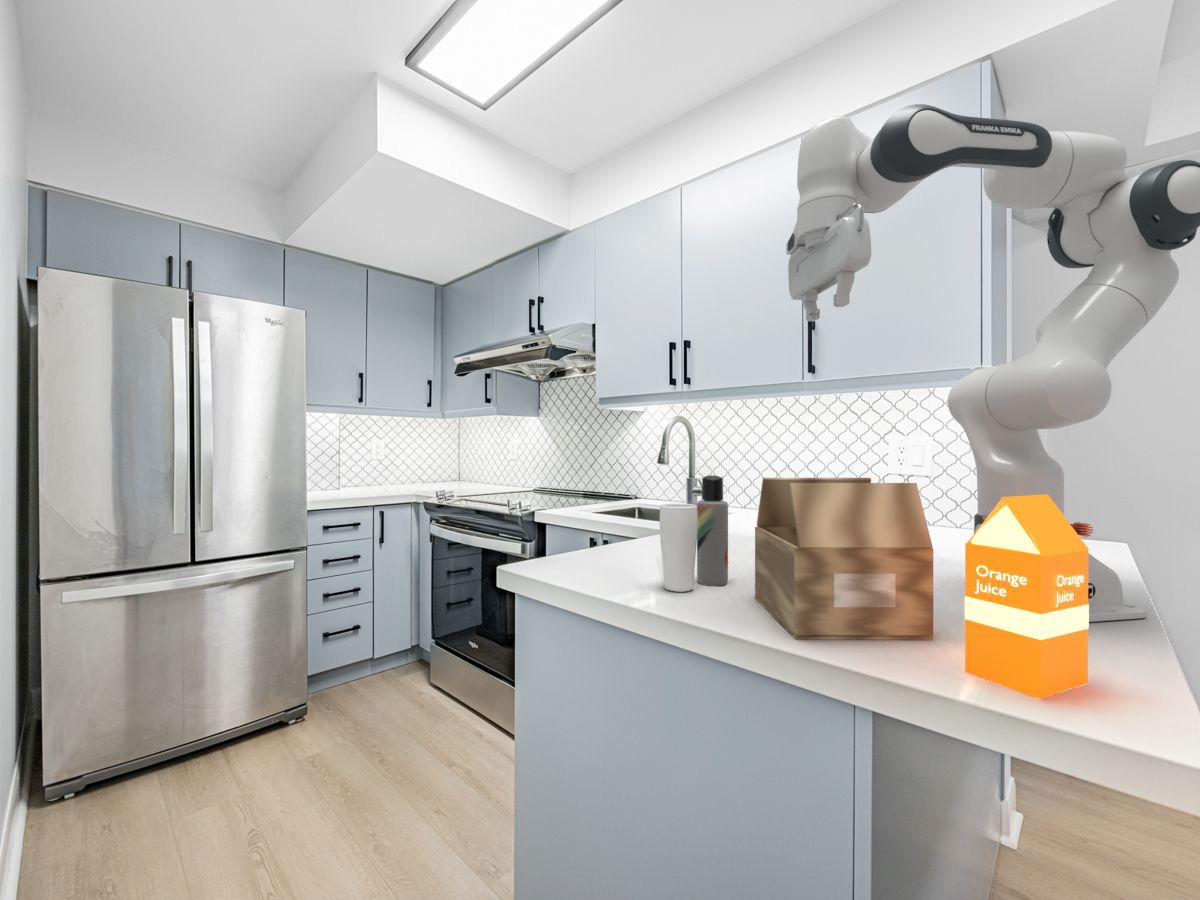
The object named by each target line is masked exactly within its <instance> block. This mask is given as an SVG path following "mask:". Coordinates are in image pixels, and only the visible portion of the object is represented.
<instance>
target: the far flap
mask: <svg viewBox="0 0 1200 900" xmlns="http://www.w3.org/2000/svg"><path fill="white" fill-rule="evenodd" d="M790 483H872V479H871V477H762V482H761V490H760V497H759V502H758V503H759V504H758V512H757V519H756V527H796V526H795V519H794V512H793V505H792V499H791V492H790V485H789V484H790Z"/></svg>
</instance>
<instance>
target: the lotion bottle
mask: <svg viewBox="0 0 1200 900" xmlns="http://www.w3.org/2000/svg"><path fill="white" fill-rule="evenodd" d="M696 505H697V510H698V532H697V544H696V575H697V576H696V578H697V580H696V581H697V583H699V584H701V585H704V584H705V586H711V585H713V587H714V586H716V587H717V586H718V587H719V585H720V586H724V585H727V584H728V582H729V503H728V501H724V477H721V476H719V475H705V476H704V477H701V500H699V501H697V503H696Z"/></svg>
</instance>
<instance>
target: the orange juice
mask: <svg viewBox="0 0 1200 900" xmlns="http://www.w3.org/2000/svg"><path fill="white" fill-rule="evenodd" d="M1001 498H1002V499H1001V501H1000V502H999V503H998V504H997V506H996V507H995V508H994V510H993V511H992V512H991V513H990V515H989V516H988V517H987V518H986V520H985V521H984V522H983V523H982V525H981V526H980V527H979V528H978V530H977V531H976V532H975V534H974V533H973V534H972V536H971V537H970V538H969V540H968V541H967V542H965V544H964V547H965V549H964V551H965V555H964V556H965V558H964V559H965V562H964V564H965V566H964V568H965V569H964V570H965V576H964V578H965V579H964V581H965V582H964V585H965V587H964V589H965V594H964V622H965V623H964V626H965V627H964V633H965V634H964V635H965V636H964V637H965V638H964V639H965V640H964V653H965V654H964V656H965V657H964V665H965V666H964V672H965V674H969V675H972V676H974V675H975V677H978V678H980V677H981V678H980V679H983V678H984V679H983V680H985V679H986V681H988V680H989V682H991V681H992V682H991V683H994V682H995V683H994V684H996V683H998V684H997V685H999V684H1001V685H1000V686H1002V685H1003V686H1002V687H1005V688H1007V687H1008V689H1010V690H1013V689H1014V690H1013V691H1016V692H1018V691H1019V692H1020V693H1021V692H1022V694H1025V695H1028V696H1029V695H1030V696H1029V697H1032V696H1033V697H1032V698H1035V697H1036V698H1035V699H1038V700H1043V699H1046V698H1045V697H1047V696H1050V695H1053V694H1056V693H1059V692H1061V691H1064V690H1067V689H1070V688H1074V687H1077V686H1080V685H1083V684H1086V683H1088V684H1089V654H1088V653H1089V626H1090V622H1089V604H1088V553H1089V551H1090V549H1089V548H1088V546H1087V544H1085V542H1084V540H1083V539H1082V538H1081V536H1080V535H1078V534H1077V533H1076V532H1075V530H1074V529H1073V528H1072V526H1071V525H1070V524H1071V523H1070V522H1069V521H1068V520H1067V518H1066V517H1065V515H1064V516H1063V514H1062V513H1061V512H1060V510H1059V509H1058V508H1057V506H1056V505H1055V504H1054V502H1053V501H1052V500H1051V498H1050V497H1049V496H1048V495H1032V496H1015V497H1001ZM1069 523H1070V524H1069ZM1059 694H1060V693H1059ZM1056 695H1057V694H1056ZM1053 696H1054V695H1053ZM1050 697H1051V696H1050ZM1042 698H1043V699H1042ZM1047 698H1048V697H1047Z"/></svg>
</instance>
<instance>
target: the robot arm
mask: <svg viewBox="0 0 1200 900" xmlns="http://www.w3.org/2000/svg"><path fill="white" fill-rule="evenodd" d="M1127 161H1128V153H1127V150H1126V147H1125V146H1124V144H1123V143H1122V142H1121V141H1120V140H1119V139H1117V138H1116V137H1113V136H1109V135H1104V134H1100V133H1099V134H1098V133H1095V132H1094V133H1093V132H1083V131H1071V130H1069V131H1068V130H1065V131H1063V130H1062V131H1059V130H1057V131H1048V130H1047V129H1046V128H1045V127H1043V126H1041V125H1038V124H1036V123H1032V122H1027V121H1026V122H1025V121H1020V120H1011V119H999V118H990V117H980V116H979V117H978V116H977V117H975V116H966V115H961V114H956V113H952V112H950V111H947V110H944V109H942V108H939V107H936V106H934V105H929V104H924V103H923V104H921V103H919V104H918V103H916V104H915V103H914V104H909V105H907V106H904V107H901V108H900V109H898V110H897V111H895V112H894V113H892V114H891V115H890V116H889V117H888V119H887V120H886V121H885V122H884V123H883V124H882V127H881V128H880V130H879V131H878V132H877V134H876V135H875V136H874V138H873V137H870V136H869V135H867V134H865V133H864V132H862V131H861V130H860V129H859V128H857V126H855V124H854V122H853V121H852V119H851V118H850V117H848V116H845V115H844V116H839V115H838V116H833V117H828V118H826V119H824V120H822V121H820V122H818V123H817V124H815V125H813V126H812V127H811V128H810V129H809V130H808V132H807V133H806V134H805V135H804V136H803V138H802V140H801V142H800V145H799V151H798V159H797V175H796V177H797V178H796V179H797V181H796V182H797V183H796V184H797V187H796V188H797V191H798V194H799V201H798V204H797V209H796V218H797V219H796V222H795V224H794V228H793V230H792V233H791V234H790V237H789V238H788V240H787V242H786V246H785V254H786V255H788V256H789V259H788V265H787V269H788V270H787V271H788V272H787V274H788V290H789V295H790V298H791V300H794V301H796V300H797V301H801V303H802V306H803V308H804V311H805V320H806V322H816V321H818V320H819V319H820V318H821V315H820V313H821V308H818V306H817V305H818V304H817V301H818V300H819V299H818V295H820V294H822V293H823V292H825V291H826V290H828V289H831V287H834V286H835V285H836V292H835V294H834V295H833V298H832V299H833V306H834V307H835V308H843V307H845V306H848V305H849V304H850V302H851V301H850V297H851V294H850V293H851V291H852V288H853V284H854V283H855V274H856V273H857V272H859V271H861V270H862V269H864V268H866V267H867V266H869V264H870V261H871V258H872V240H871V230H870V224H869V221H868V219H867V218H866V217H865V213H866V214H876V213H877V214H878V213H881V212H884V211H887V209H889V208H891V207H892V206H894V205H895V204H897V203H898V202H899V201H900V200H902V199H903V198H904V197H905V196H906V195H907V194H909V192H910V191H912V190H913V189H914V188H916V187H917V186H918V185H919V184H920V183H921V182H923V181H924V180H925V179H928V178H929V177H930V176H932V175H934V174H936V173H938V172H940V171H942V170H945V169H947V168H948V169H949V168H951V167H952V168H953V167H957V168H958V167H959V168H972V169H973V168H974V169H983V178H982V180H983V181H982V183H983V184H982V185H983V189H984V192H985V195H986V197H987V198H988V199H989V200H990V202H991V203H993V205H994V206H998V207H1002V208H1005V209H1014V210H1015V209H1016V210H1029V209H1030V210H1031V209H1033V210H1036V209H1050V208H1051V209H1053V210H1052V212H1051V213H1050V215H1049V217H1048V219H1047V225H1048V228H1047V235H1046V237H1047V238H1046V239H1047V247H1048V251H1049V253H1050V256H1051V257H1052V259H1053V260H1054V262H1056V263H1057V264H1059V265H1060V266H1062V267H1064V268H1067V269H1086V268H1091V267H1092V268H1091V270H1090V271H1089V273H1088V275H1087V277H1086V278H1085V279H1083V281H1081V282H1080V283H1079V284H1078V285H1077V286H1075V288H1074V289H1073V290H1072V291H1071V292H1069V294H1068V295H1067V296H1066V297H1065V298H1064V299H1063V300H1062V301H1061V302H1060V303H1059V304H1058V305H1057V306H1056V307H1055V308H1054V309H1053V310H1052V311H1050V313H1048V315H1047V316H1046V317H1045V318H1044V319H1042V320H1041V322H1039V324H1038V326H1037V328H1036V331H1035V338H1036V345H1035V346H1034V347H1033V349H1031V351H1029V352H1028V353H1027V354H1025V355H1023V356H1022V357H1020V358H1018V359H1016V360H1014V361H1011V362H1009V363H1007V362H1006V363H1003V364H997V365H993V366H988V367H983V368H980V369H977V370H975V371H973V372H972V373H969V374H967V375H966V376H963V377H962V378H960V379H958V380H957V381H956V382H955V383H954V384H953V385H952V387H951V388H950V390H949V393H948V397H947V407H948V410H949V411H948V412H949V413H950V415H951V416H952V419H954V420H955V422H957V423H958V424H959V425H960V426H961V427H962V429H963V430H964V433H965V436H966V437H967V440H968V442H969V446H970V448H971V450H972V451H971V452H972V454H973V459H974V463H975V467H976V468H975V469H976V489H977V492H976V494H977V513H976V514H975V515H974V523H973V535H974V534H975V532H976V531H977V530H978V528H979V527H980V526H981V525H982V523H983V522H984V521H985V520H986V518H987V517H988V516H989V515H990V513H991V512H992V511H993V510H994V508H995V507H996V506H997V504H998V503H999V502H1000V501H1001V499H1002V498H1001V497H1015V496H1032V495H1048V496H1049V497H1050V498H1051V500H1052V501H1053V502H1054V504H1055V505H1056V506H1057V508H1058V509H1059V510H1060V512H1061V513H1062V514H1063V516H1064V517H1065V471H1064V469H1063V467H1062V466H1061V465H1060V463H1059V462H1057V460H1055V459H1054V458H1052V457H1051V456H1050V455H1049V454H1048V452H1047V451H1046V449H1045V447H1044V445H1043V443H1042V440H1041V438H1040V434H1039V430H1052V429H1053V430H1055V429H1060V428H1065V427H1068V426H1072V425H1073V426H1074V425H1077V424H1080V423H1083V422H1086V421H1089V420H1092V419H1094V418H1095V417H1097V416H1099V415H1100V414H1101V413H1102V412H1103V411H1104V410H1105V409H1106V407H1107V405H1108V404H1109V402H1110V399H1111V396H1112V395H1111V394H1112V390H1113V389H1112V381H1111V377H1110V375H1109V372H1108V371H1107V368H1108V367H1109V365H1110V364H1111V362H1112V361H1113V360H1114V358H1115V357H1116V356H1117V355H1118V354H1119V353H1121V352H1122V350H1123V349H1124V348H1125V347H1126V346H1127V345H1128V344H1129V343H1130V342H1131V341H1132V340H1133V339H1134V338H1135V337H1136V336H1137V334H1138V333H1140V332H1141V331H1142V330H1143V329H1144V328H1145V327H1146V326H1147V325H1148V324H1149V322H1150V321H1151V320H1152V319H1153V318H1154V317H1155V316H1156V315H1157V313H1158V312H1159V311H1160V309H1161V308H1162V307H1163V306H1164V304H1165V303H1166V302H1167V300H1168V298H1169V297H1170V296H1171V294H1172V293H1173V291H1174V289H1175V287H1176V286H1177V284H1178V281H1179V278H1180V277H1179V276H1180V271H1179V267H1178V264H1177V263H1176V261H1175V260H1174V259H1173V258H1172V256H1171V251H1172V250H1177V249H1180V248H1183V247H1185V246H1186V245H1188V244H1190V243H1191V241H1193V240H1194V239H1195V237H1196V235H1197V231H1198V228H1199V227H1200V162H1199V161H1195V160H1190V159H1181V160H1173V161H1170V162H1166V163H1162V164H1159V165H1156V166H1153V167H1150V168H1148V169H1147V170H1145V171H1143V172H1142V173H1140V174H1138V175H1135V176H1134V177H1131V178H1129V177H1128V176H1127V175H1126V173H1125V170H1126V166H1127ZM1069 524H1070V525H1071V526H1072V528H1073V529H1074V530H1075V532H1076V533H1077V534H1078V535H1079V536H1080V537H1081V536H1082V537H1085V538H1086V537H1087V538H1088V537H1091V535H1092V534H1093V533H1094V532H1093V531H1094V529H1093V526H1092V525H1091V524H1089V523H1087V522H1084V523H1083V522H1082V523H1081V522H1080V521H1079V522H1078V521H1076V522H1073V523H1070V522H1069ZM1088 604H1089V623H1090V622H1091V623H1092V622H1104V621H1105V622H1106V621H1118V620H1134V619H1136V620H1137V619H1145V618H1146V614H1145V610H1143V609H1142V608H1140V607H1139V606H1136V605H1134V604H1131V603H1128V602H1125V601H1124V594H1123V587H1122V583H1121V579H1120V577H1119V575H1118V574H1117V572H1115V570H1113V569H1112V568H1110V567H1109V566H1108V565H1106V564H1105V563H1103V562H1102V561H1100V560H1099V559H1097V558H1096V557H1095V556H1093V555H1092V554H1091V553H1089V552H1088Z"/></svg>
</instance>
